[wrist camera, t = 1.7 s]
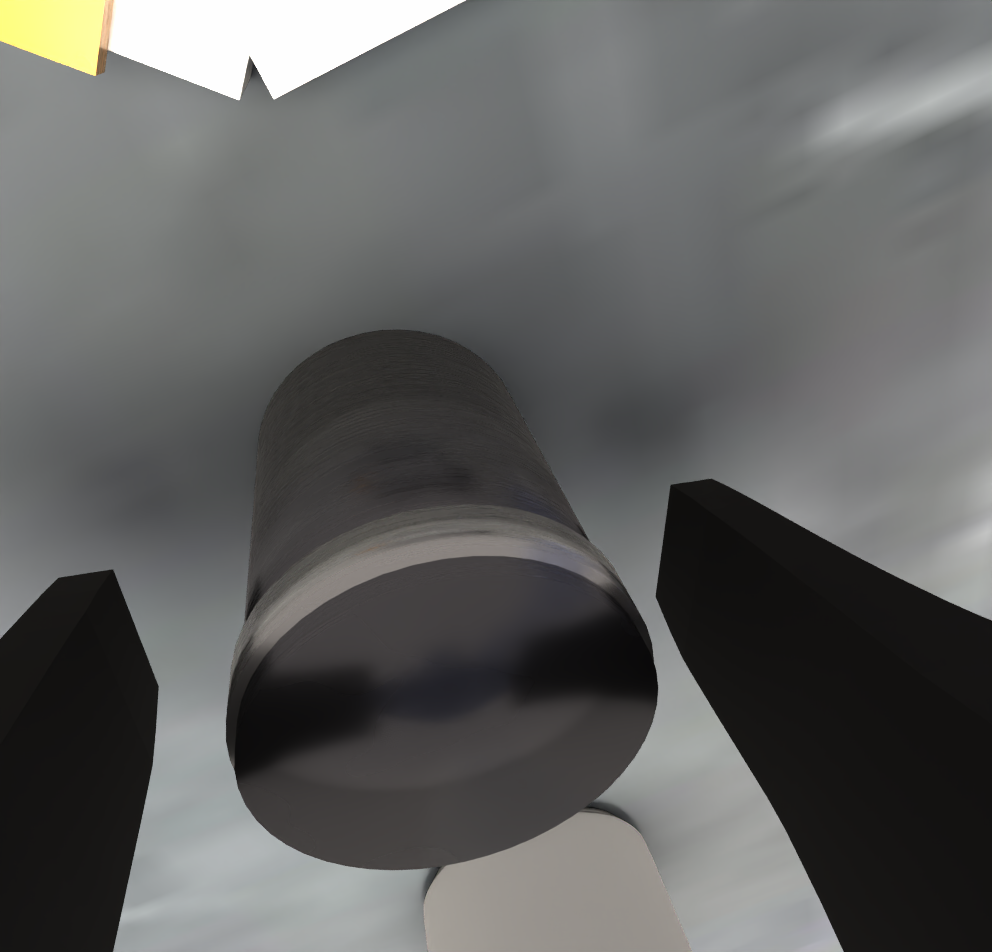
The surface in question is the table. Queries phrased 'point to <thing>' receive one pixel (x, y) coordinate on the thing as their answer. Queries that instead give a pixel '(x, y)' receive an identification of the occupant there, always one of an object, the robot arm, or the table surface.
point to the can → (557, 895)
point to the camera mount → (213, 35)
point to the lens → (423, 619)
